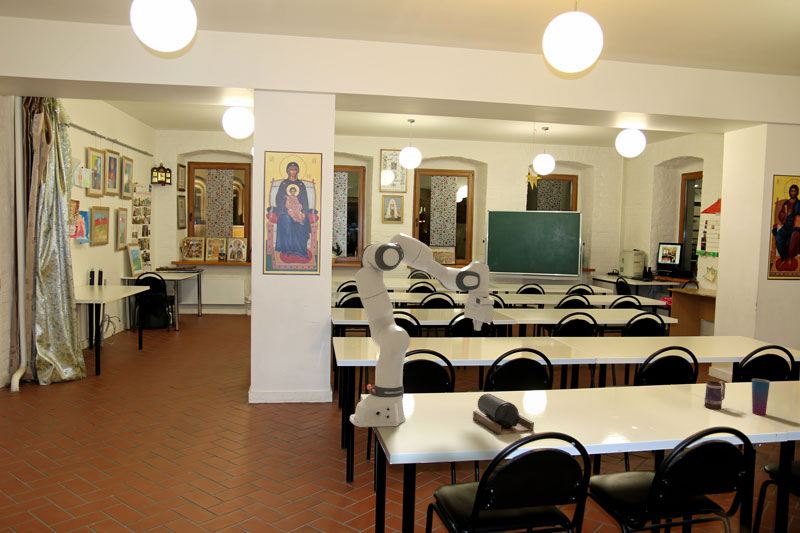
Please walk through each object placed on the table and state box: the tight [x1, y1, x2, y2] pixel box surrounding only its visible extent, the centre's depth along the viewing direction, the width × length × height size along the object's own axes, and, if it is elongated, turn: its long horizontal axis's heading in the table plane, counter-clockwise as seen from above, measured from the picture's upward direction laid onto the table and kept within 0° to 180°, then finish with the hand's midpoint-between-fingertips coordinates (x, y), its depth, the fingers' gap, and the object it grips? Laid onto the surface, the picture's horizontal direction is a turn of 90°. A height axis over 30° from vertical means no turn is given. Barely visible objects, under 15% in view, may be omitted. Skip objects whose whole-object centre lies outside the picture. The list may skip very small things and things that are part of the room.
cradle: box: [472, 410, 535, 436], centre depth 228 cm, size 16×20×4 cm
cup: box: [751, 378, 771, 416], centre depth 254 cm, size 7×7×15 cm
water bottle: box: [477, 393, 520, 429], centre depth 229 cm, size 10×10×23 cm
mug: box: [704, 380, 726, 411], centre depth 263 cm, size 10×7×12 cm
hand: (477, 330), depth 250 cm, fingers closed
